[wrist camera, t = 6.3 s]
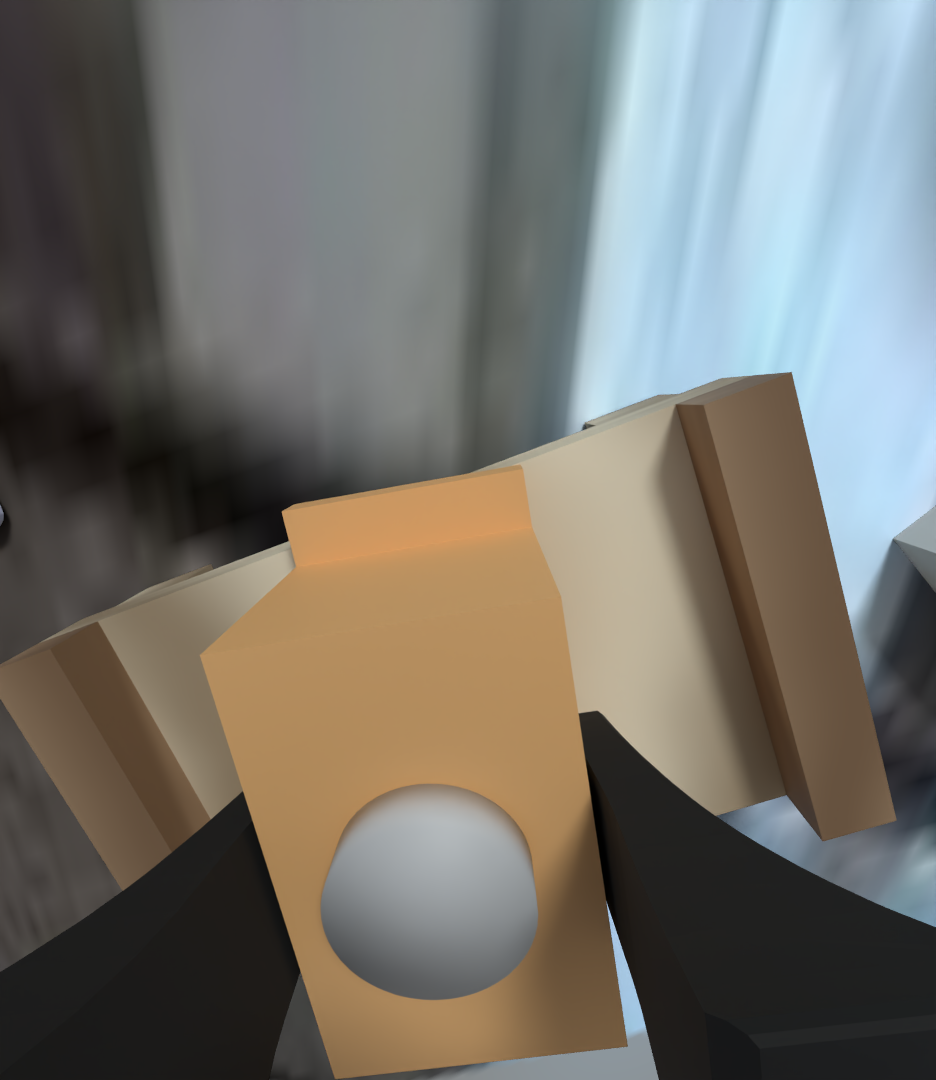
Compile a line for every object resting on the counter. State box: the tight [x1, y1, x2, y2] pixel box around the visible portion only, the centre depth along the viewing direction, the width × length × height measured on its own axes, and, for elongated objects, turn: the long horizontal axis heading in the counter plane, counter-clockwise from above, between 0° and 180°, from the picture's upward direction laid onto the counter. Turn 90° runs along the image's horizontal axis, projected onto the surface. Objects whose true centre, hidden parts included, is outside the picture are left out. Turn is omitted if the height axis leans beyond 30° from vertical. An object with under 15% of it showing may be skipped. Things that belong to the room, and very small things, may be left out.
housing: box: [200, 465, 628, 1079], centre depth 11 cm, size 5×10×6 cm, turn 10°
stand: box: [0, 372, 896, 891], centre depth 14 cm, size 17×10×4 cm, turn 111°
